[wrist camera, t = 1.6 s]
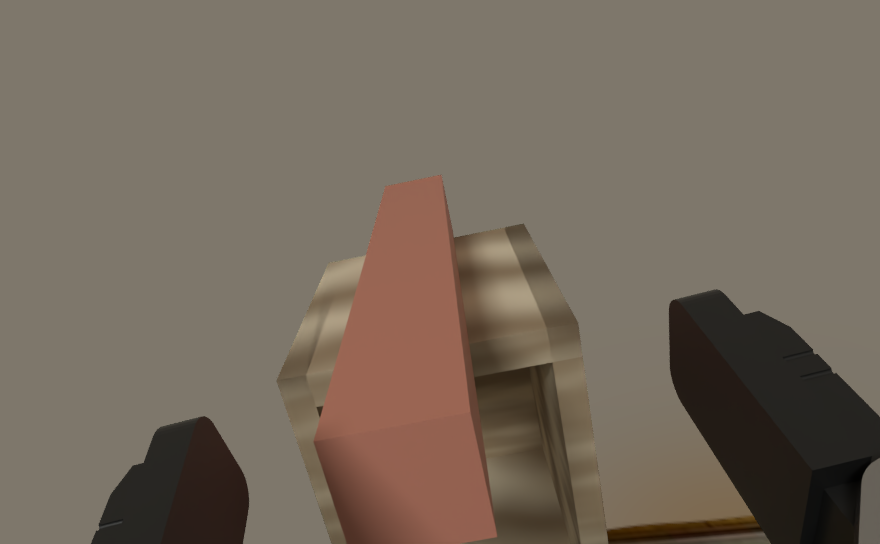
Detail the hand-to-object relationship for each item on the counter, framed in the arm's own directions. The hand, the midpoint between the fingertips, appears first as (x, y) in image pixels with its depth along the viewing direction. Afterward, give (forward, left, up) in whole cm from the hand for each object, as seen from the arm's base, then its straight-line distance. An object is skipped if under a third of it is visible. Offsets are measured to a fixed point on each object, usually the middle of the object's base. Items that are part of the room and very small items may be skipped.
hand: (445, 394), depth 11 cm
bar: (-9, +12, -5) cm, 16 cm away
